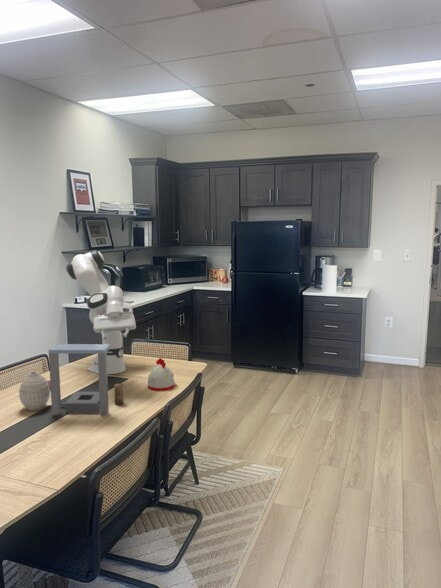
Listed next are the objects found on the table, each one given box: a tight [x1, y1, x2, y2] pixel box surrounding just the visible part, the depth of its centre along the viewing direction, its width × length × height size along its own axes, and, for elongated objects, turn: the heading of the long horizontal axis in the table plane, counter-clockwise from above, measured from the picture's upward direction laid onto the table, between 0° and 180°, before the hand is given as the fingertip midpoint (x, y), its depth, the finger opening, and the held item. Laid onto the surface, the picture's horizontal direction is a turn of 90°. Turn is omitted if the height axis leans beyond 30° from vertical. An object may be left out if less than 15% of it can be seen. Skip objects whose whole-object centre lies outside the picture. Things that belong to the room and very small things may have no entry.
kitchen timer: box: [147, 357, 176, 392], centre depth 224 cm, size 14×14×15 cm
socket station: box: [48, 343, 110, 416], centre depth 195 cm, size 16×24×30 cm
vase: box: [18, 371, 51, 412], centre depth 196 cm, size 13×13×17 cm
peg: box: [113, 383, 125, 406], centre depth 202 cm, size 4×4×9 cm
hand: (115, 337), depth 208 cm, fingers open, 8 cm apart
